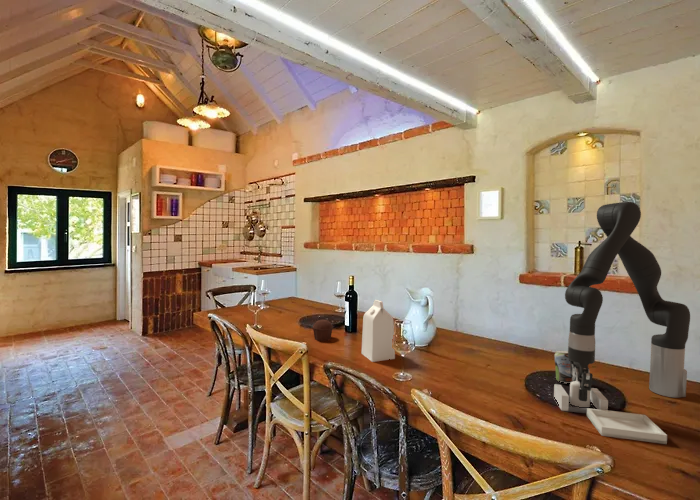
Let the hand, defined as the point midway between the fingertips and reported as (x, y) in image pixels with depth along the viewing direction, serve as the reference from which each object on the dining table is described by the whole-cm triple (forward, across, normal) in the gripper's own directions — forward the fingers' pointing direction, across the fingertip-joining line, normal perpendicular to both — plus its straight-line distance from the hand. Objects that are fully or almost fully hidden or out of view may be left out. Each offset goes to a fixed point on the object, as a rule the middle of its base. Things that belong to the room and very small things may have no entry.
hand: (579, 396), depth 121 cm
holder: (+3, 0, 0) cm, 3 cm away
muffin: (+4, +49, +108) cm, 119 cm away
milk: (+4, +30, +74) cm, 80 cm away
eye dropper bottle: (+4, 0, 0) cm, 4 cm away
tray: (+3, -12, -8) cm, 15 cm away
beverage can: (+4, +21, -1) cm, 21 cm away
